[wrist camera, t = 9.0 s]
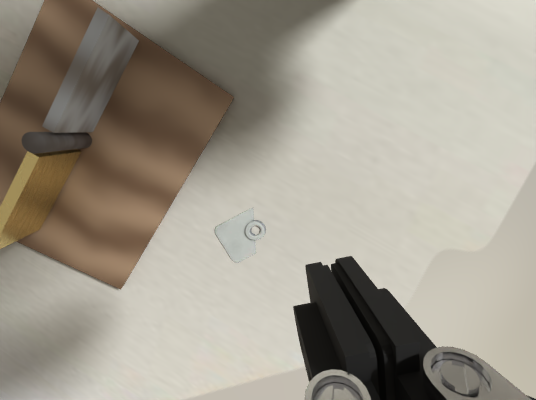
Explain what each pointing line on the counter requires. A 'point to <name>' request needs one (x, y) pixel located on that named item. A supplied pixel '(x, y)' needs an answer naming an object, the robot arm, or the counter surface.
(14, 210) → the bar
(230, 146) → the counter surface
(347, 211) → the counter surface
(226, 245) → the mounting bracket
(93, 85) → the hinge base
